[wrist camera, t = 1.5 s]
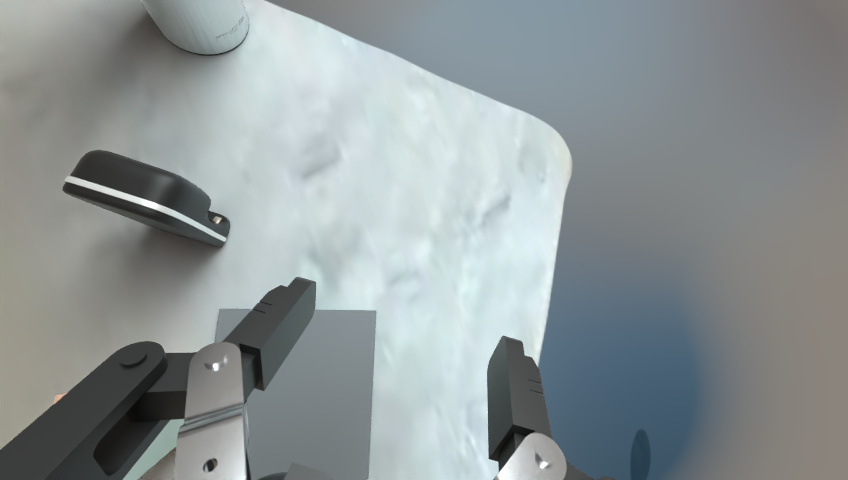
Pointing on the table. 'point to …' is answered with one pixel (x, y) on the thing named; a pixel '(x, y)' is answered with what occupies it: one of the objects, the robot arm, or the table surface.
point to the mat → (315, 397)
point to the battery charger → (146, 196)
